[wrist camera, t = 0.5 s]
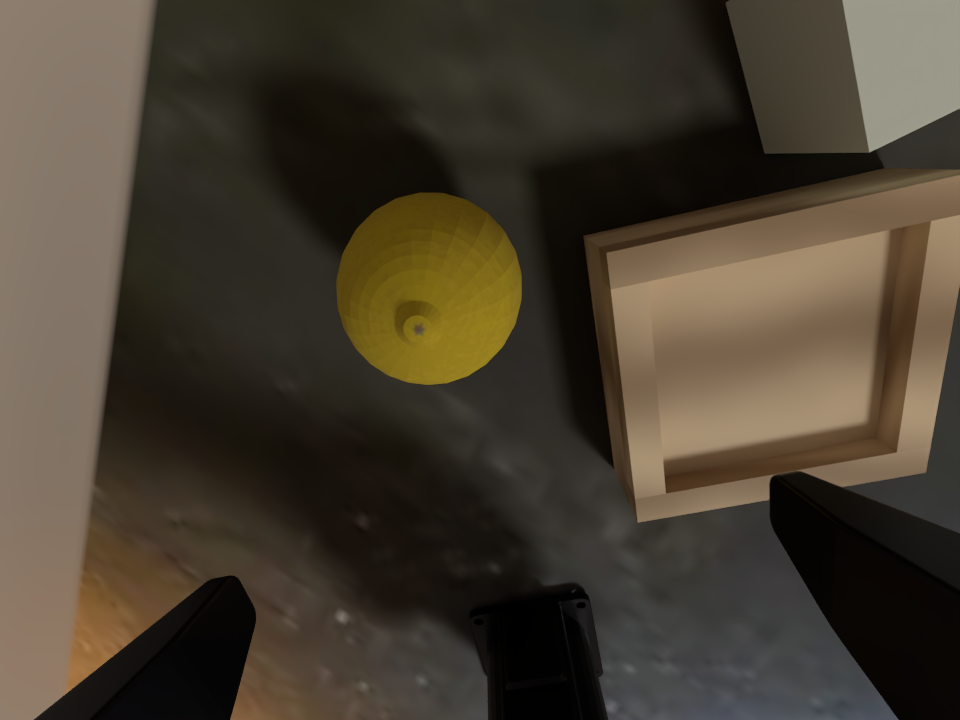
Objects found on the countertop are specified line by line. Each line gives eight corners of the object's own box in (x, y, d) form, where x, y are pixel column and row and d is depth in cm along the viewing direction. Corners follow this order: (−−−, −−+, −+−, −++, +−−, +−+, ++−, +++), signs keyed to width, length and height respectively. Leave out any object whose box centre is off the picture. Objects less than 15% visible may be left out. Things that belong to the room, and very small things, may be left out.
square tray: (858, 424, 21) (926, 472, 18) (614, 469, 22) (637, 522, 19) (885, 167, 17) (980, 170, 14) (583, 235, 18) (606, 252, 15)
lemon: (479, 347, 20) (481, 460, 12) (351, 297, 19) (271, 387, 12) (536, 221, 18) (578, 266, 10) (396, 159, 17) (335, 161, 10)
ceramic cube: (908, 79, 16) (1080, 49, 12) (763, 153, 17) (869, 152, 12) (885, -89, 14) (1077, -204, 10) (724, 3, 15) (831, -63, 11)
